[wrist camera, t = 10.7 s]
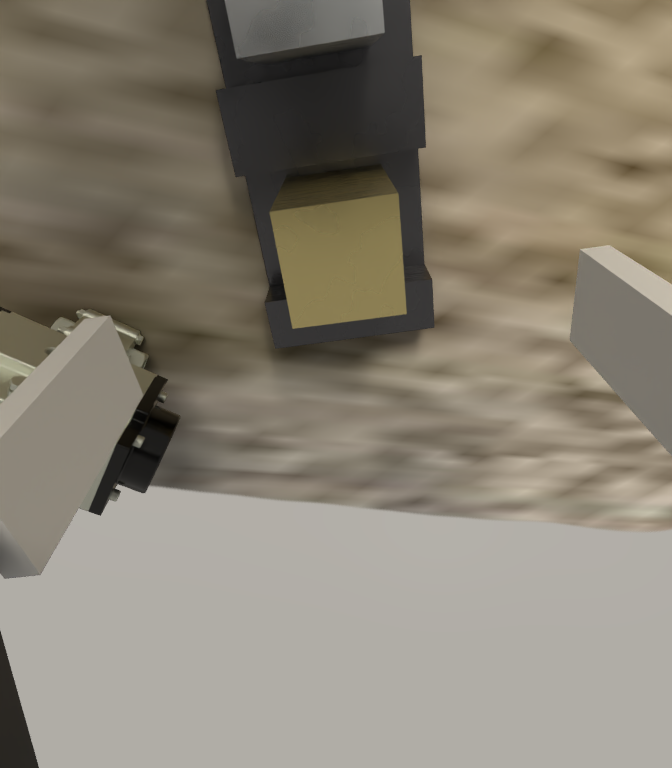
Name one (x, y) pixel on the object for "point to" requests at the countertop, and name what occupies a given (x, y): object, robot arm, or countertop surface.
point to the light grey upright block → (302, 28)
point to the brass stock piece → (340, 246)
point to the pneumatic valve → (145, 427)
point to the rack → (330, 148)
